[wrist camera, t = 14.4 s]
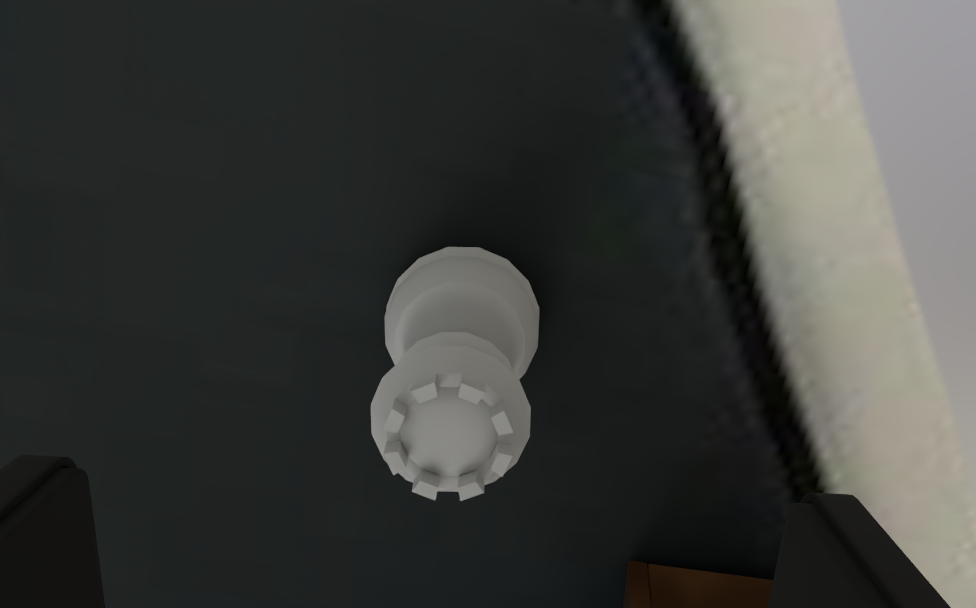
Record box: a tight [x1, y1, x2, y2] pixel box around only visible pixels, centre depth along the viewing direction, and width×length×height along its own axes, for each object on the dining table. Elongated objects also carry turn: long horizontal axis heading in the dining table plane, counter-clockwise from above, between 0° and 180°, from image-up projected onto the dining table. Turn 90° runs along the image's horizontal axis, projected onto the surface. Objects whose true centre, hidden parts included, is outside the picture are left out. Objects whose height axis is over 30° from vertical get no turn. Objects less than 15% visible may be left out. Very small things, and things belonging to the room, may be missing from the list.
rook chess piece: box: [371, 247, 539, 501], centre depth 18 cm, size 4×4×8 cm
